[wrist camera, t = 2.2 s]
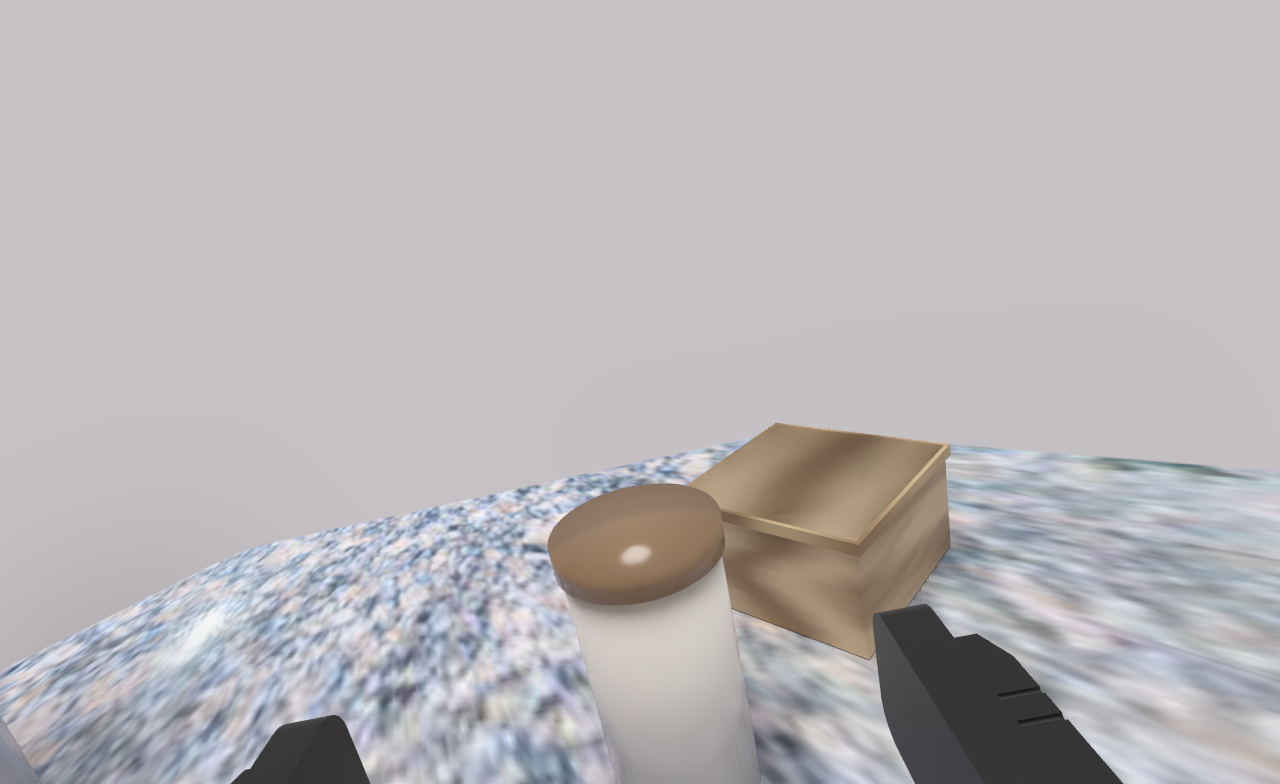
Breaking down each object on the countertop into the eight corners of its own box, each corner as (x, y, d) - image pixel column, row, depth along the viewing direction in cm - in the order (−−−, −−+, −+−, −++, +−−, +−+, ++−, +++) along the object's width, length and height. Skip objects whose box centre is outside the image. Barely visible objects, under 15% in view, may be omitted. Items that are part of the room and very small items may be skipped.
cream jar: (584, 795, 25) (512, 547, 21) (679, 696, 28) (631, 473, 25) (702, 887, 21) (636, 598, 17) (795, 758, 24) (755, 501, 21)
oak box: (688, 594, 35) (669, 497, 34) (787, 507, 42) (775, 422, 40) (871, 664, 28) (858, 545, 26) (955, 545, 35) (949, 444, 33)
